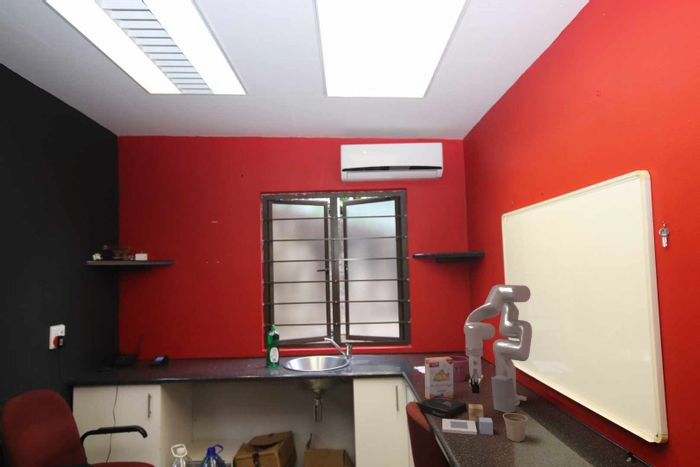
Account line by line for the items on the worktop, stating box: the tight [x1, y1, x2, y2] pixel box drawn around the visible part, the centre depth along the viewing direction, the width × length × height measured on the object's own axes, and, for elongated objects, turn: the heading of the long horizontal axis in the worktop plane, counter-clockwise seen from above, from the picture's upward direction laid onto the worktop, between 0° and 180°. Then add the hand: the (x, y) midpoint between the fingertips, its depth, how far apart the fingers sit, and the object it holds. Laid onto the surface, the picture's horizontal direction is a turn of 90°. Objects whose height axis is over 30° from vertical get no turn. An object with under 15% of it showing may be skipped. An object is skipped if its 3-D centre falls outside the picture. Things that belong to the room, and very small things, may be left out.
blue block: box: [478, 417, 494, 436], centre depth 175 cm, size 5×5×5 cm
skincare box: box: [490, 375, 517, 414], centre depth 201 cm, size 8×7×16 cm
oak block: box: [468, 403, 485, 424], centre depth 189 cm, size 6×6×6 cm
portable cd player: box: [417, 396, 468, 420], centre depth 201 cm, size 16×17×4 cm
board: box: [441, 418, 478, 436], centre depth 180 cm, size 14×12×1 cm
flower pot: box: [502, 412, 528, 443], centre depth 168 cm, size 9×9×9 cm
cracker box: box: [424, 356, 454, 400], centre depth 219 cm, size 14×6×21 cm, turn 105°
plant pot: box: [446, 355, 469, 383], centre depth 254 cm, size 14×14×13 cm
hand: (474, 390), depth 189 cm, fingers open, 9 cm apart
